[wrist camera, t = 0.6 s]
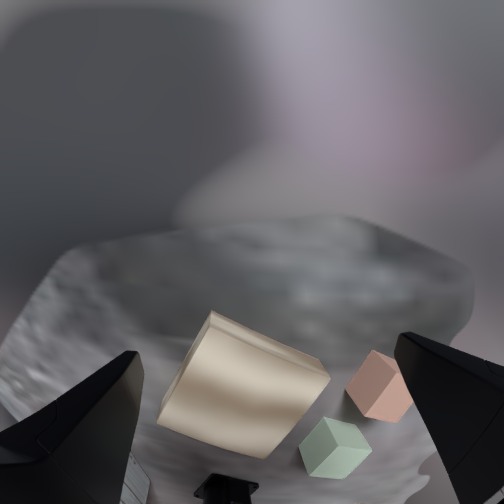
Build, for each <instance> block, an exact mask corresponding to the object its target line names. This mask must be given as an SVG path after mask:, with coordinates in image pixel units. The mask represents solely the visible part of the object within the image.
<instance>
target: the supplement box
mask: <svg viewBox="0 0 504 504" xmlns="http://www.w3.org/2000/svg"><path fill="white" fill-rule="evenodd" d="M149 485H150V480H149V478H148V477H147V475H146V474H145V473H144V471H143V470H142V468H141V467H140V465H139V464H138V462H137V461H136V459H135V458H134V456H133V455H132V453H131V452H130V455H129V459H128V464H127V469H126V473H125V478H124V483H123V489H122V494H121V499H120V504H146V500H147V495H148V489H149Z"/></svg>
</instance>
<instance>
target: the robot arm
mask: <svg viewBox="0 0 504 504" xmlns="http://www.w3.org/2000/svg"><path fill="white" fill-rule="evenodd" d="M394 357H395V360H396V362H397V365H398V367H399V370H400V372H401V375H402V377H403V380H404V382H405V385H406V387H407V389H408V391H409V393H410V395H411V397H412V399H413V401H414V403H415V405H416V407H417V409H418V411H419V413H420V415H421V417H422V419H423V421H424V423H425V425H426V427H427V429H428V431H429V433H430V435H431V437H432V440H433V442H434V444H435V446H436V448H437V450H438V453H439V455H440V457H441V459H442V462H443V464H444V466H445V468H446V471H447V473H448V474H449V478H450V481H451V483H452V485H453V488H454V490H455V493H456V495H457V498H458V501H459V503H460V504H485V503H486V502H487V501H488V500H490V499H491V498H492V497H493V496H495V495H496V494H497V493H498V492H500V491H501V492H502V494H503V496H504V366H501V365H498V364H495V363H492V362H490V361H487V360H485V361H484V359H481V358H479V357H476V356H473V355H470V354H468V353H465V352H462V351H460V350H457V349H454V348H452V347H449V346H447V345H444V344H441V343H439V342H436V341H434V340H431V339H428V338H426V337H423V336H421V335H418V334H415V333H413V332H404V333H401V334H400V335H399V337H398V340H397V343H396V347H395V350H394ZM143 381H144V369H143V366H142V362H141V358H140V355H139V353H138V352H137V351H125V352H123V353H122V354H120V355H119V356H118V357H116V358H115V359H113V360H112V361H110V362H109V363H108V364H106V365H105V366H103V367H102V368H100V369H99V370H97V371H96V372H95V373H93V374H92V375H90V376H89V377H87V378H86V379H85V380H83V381H82V382H80V383H79V384H77V385H76V386H74V387H73V388H72V389H70V390H69V391H67V392H66V393H64V394H63V395H61V396H60V397H58V398H57V399H56V400H54V401H53V402H51V403H50V404H48V405H47V406H45V407H44V408H42V409H41V410H39V411H37V412H36V413H34V414H32V415H31V416H29V417H27V418H25V419H24V420H22V421H20V422H18V423H16V424H14V425H12V426H11V427H9V428H7V429H5V430H3V431H1V432H0V504H120V499H121V494H122V489H123V483H124V478H125V473H126V469H127V464H128V459H129V455H130V450H131V446H132V442H133V437H134V433H135V429H136V425H137V421H138V416H139V411H140V403H141V395H142V388H143ZM258 488H259V484H258V483H253V482H248V481H244V480H239V479H235V478H231V477H227V476H223V475H219V474H211V475H210V476H209V477H208V479H207V480H206V481H205V482H204V483H203V484H202V485H201V486H200V487H199V488H198V489H197V490H196V491H195V492H194V497H197V498H200V499H203V504H252V503H251V496H250V495H251V494H252V493H253V492H255V491H256V490H257V489H258ZM497 504H504V498H503V499H502V500H501V501H500V502H499V503H497Z"/></svg>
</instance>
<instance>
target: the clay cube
mask: <svg viewBox="0 0 504 504" xmlns="http://www.w3.org/2000/svg"><path fill="white" fill-rule="evenodd" d="M345 390H346V391H347V393H348V394H349V396H350V397H351V398H352V400H353V401H354V403H355V404H356V405H357V407H358V408H359V410H360V411H361V413H362V414H363V415H364V416H365V417H370V418H374V419H378V420H383V421H387V422H392V423H397V422H398V421H399V420H400V418H401V417H402V416H403V415H404V413H405V412H406V411H407V409H408V408H409V407H410V406H411V404H412V403H413V402H414V401H413V399H412V397H411V395H410V393H409V391H408V389H407V387H406V385H405V382H404V380H403V377H402V375H401V372H400V370H399V367H398V365H397V362H396V360H394V359H392V358H390V357H387V356H385V355H383V354H381V353H378V352H376V351H374V350H372V351H371V352H370V354H369V355H368V357H367V358H366V360H365V361H364V363H363V364H362V366H361V367H360V369H359V370H358V371H357V373H356V374H355V376H354V377H353V379H352V380H351V381H350V383H349V384H348V386H347V387H346V388H345Z"/></svg>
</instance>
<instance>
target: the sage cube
mask: <svg viewBox="0 0 504 504" xmlns="http://www.w3.org/2000/svg"><path fill="white" fill-rule="evenodd" d="M298 447H299V450H300V453H301V456H302V459H303V461H304V464H305V467H306V470H307V473H308V476H315V477H324V478H335V479H344V478H345V477H346V476H348V475H349V474H350V473H351V472H352V471H353V470H354V469H355V468H356V467H357V466H358V465H359V464H360V463H361V462H362V461H363V460H364V459H365V458H366V457H367V456H368V455H369V454H370V453H371V452H372V449H371V448H370V446H369V444H368V443H367V441H366V440H365V438H364V437H363V435H362V434H361V432H360V431H359V429H358V427H357V426H356V425H355V424H351V423H346V422H342V421H338V420H334V419H330V418H326V417H323V418H322V419H321V420H320V421H319V423H318V424H317V425H316V426H315V427H314V429H313V430H312V431H311V432H310V433H309V434H308V436H307V437H306V438H305V439H304V440H303V441H302V442H301V443H300V445H299V446H298Z"/></svg>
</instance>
